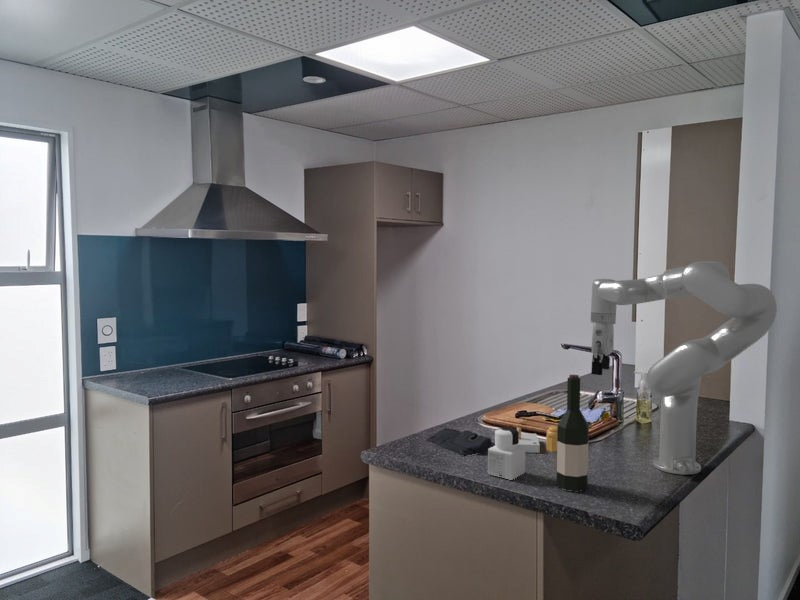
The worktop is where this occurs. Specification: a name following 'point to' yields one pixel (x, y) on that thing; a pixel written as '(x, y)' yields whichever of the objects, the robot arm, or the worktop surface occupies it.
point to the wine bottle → (572, 442)
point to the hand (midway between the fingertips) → (600, 371)
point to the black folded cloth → (461, 441)
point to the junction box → (529, 442)
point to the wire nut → (551, 439)
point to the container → (506, 455)
